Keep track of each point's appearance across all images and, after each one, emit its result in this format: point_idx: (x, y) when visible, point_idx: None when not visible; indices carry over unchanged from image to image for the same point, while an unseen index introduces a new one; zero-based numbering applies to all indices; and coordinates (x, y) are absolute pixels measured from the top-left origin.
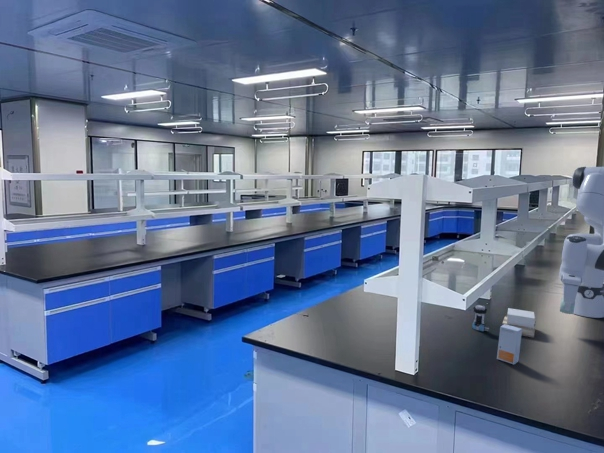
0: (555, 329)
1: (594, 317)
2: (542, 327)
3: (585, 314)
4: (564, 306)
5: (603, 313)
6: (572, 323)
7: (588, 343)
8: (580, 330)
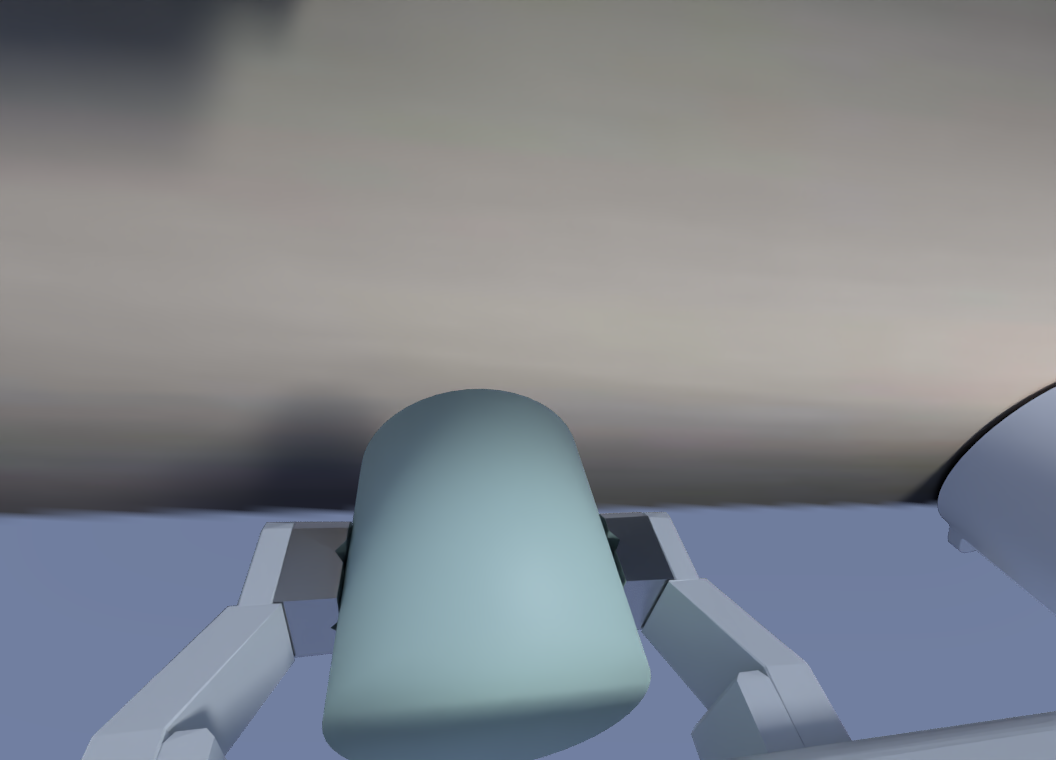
0: (526, 220)
1: (941, 493)
2: (529, 53)
3: (982, 463)
4: (352, 553)
5: (973, 544)
6: (794, 375)
7: (240, 462)
8: (610, 420)
